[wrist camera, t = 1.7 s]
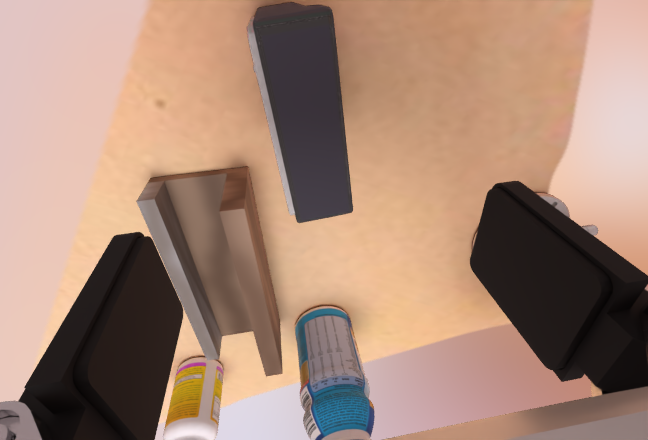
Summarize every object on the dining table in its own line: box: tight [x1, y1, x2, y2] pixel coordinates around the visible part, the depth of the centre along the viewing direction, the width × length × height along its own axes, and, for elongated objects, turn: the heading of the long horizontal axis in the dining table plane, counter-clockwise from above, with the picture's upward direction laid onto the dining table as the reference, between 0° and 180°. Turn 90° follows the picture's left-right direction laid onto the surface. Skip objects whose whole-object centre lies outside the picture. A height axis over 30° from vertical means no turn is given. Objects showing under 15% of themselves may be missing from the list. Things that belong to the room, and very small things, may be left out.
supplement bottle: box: [163, 357, 223, 440], centre depth 45 cm, size 7×7×13 cm
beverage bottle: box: [295, 306, 374, 440], centre depth 41 cm, size 8×8×20 cm
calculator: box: [247, 2, 353, 223], centre depth 23 cm, size 11×4×15 cm, turn 8°
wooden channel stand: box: [137, 167, 282, 376], centre depth 37 cm, size 10×24×8 cm, turn 3°
